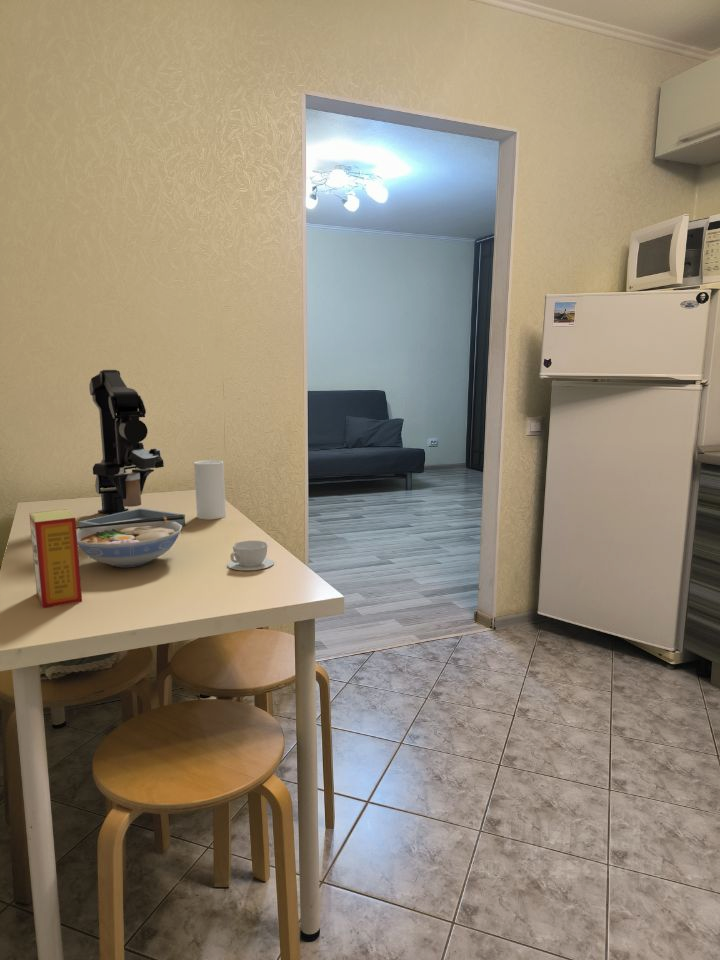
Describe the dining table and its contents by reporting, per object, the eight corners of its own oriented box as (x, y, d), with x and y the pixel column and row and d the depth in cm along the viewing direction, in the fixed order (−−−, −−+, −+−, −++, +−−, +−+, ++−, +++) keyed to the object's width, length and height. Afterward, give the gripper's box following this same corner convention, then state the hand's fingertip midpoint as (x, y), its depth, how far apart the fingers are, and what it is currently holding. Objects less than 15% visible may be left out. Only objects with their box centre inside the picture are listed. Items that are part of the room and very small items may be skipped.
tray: (79, 532, 173) (79, 521, 172) (141, 518, 189) (140, 508, 189) (125, 541, 163) (124, 529, 163) (185, 525, 180) (184, 514, 180)
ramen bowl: (67, 585, 129) (63, 545, 128) (70, 556, 150) (67, 521, 149) (196, 570, 139) (194, 532, 137) (182, 544, 159) (180, 511, 158)
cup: (229, 513, 195) (227, 460, 192) (220, 519, 187) (218, 463, 184) (202, 513, 196) (199, 460, 193) (192, 519, 188) (189, 463, 185)
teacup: (254, 556, 149) (253, 536, 148) (283, 565, 142) (282, 544, 142) (218, 566, 142) (217, 545, 141) (246, 575, 135) (245, 553, 134)
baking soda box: (36, 593, 125) (29, 511, 122) (73, 587, 128) (66, 507, 126) (43, 608, 117) (34, 520, 114) (82, 601, 120) (75, 515, 118)
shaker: (119, 505, 175) (116, 474, 173) (133, 502, 179) (131, 471, 177) (130, 507, 172) (128, 475, 171) (145, 504, 176) (143, 473, 175)
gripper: (117, 444, 161) (122, 506, 163) (176, 437, 176) (179, 494, 179) (89, 442, 166) (93, 502, 169) (148, 435, 182) (151, 491, 185)
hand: (131, 497), depth 175 cm, fingers closed on shaker, 5 cm apart
